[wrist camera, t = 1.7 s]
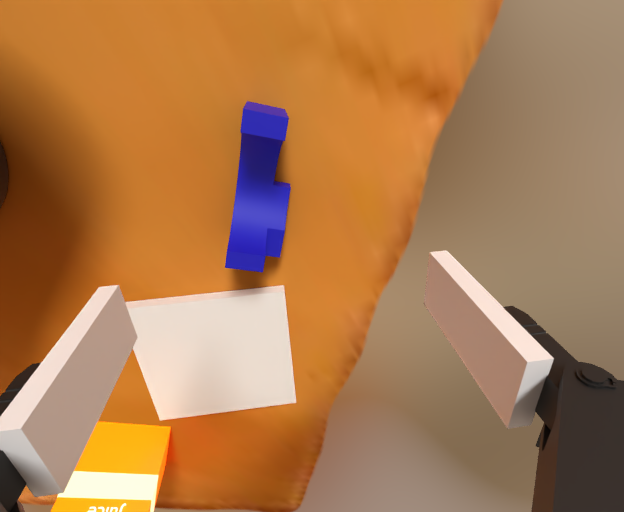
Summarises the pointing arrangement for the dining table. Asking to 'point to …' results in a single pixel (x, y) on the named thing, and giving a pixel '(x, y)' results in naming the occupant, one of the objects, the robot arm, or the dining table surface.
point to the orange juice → (117, 470)
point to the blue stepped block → (258, 190)
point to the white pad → (214, 351)
